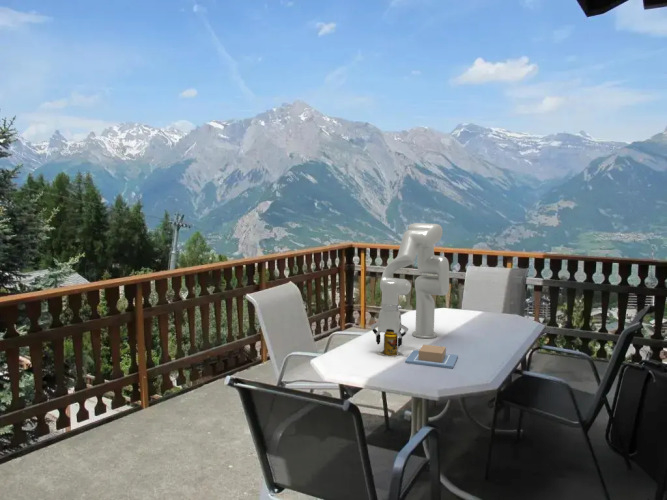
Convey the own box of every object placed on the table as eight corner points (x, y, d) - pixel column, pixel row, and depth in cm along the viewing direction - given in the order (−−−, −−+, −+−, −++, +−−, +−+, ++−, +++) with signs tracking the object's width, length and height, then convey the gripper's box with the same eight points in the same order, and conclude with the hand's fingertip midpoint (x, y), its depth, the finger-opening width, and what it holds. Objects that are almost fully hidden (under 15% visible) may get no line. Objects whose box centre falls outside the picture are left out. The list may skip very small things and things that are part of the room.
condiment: (394, 357, 225) (394, 330, 224) (376, 354, 229) (377, 328, 228) (400, 353, 232) (401, 327, 231) (383, 350, 236) (384, 325, 235)
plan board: (413, 352, 233) (413, 341, 233) (457, 357, 227) (458, 346, 226) (405, 363, 217) (405, 351, 216) (452, 368, 210) (453, 357, 209)
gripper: (410, 307, 229) (409, 345, 230) (373, 304, 235) (372, 341, 236) (406, 310, 222) (405, 349, 223) (369, 307, 228) (368, 344, 229)
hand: (388, 344), depth 230 cm, fingers open, 9 cm apart
